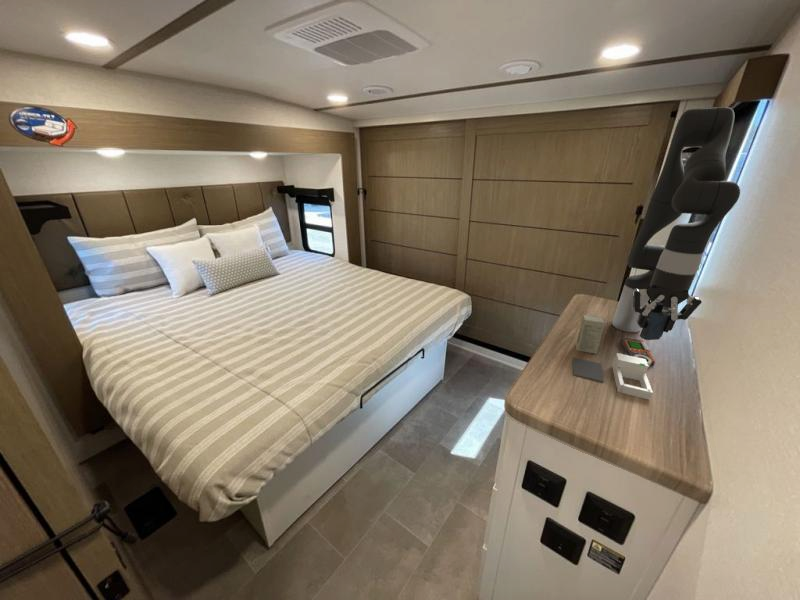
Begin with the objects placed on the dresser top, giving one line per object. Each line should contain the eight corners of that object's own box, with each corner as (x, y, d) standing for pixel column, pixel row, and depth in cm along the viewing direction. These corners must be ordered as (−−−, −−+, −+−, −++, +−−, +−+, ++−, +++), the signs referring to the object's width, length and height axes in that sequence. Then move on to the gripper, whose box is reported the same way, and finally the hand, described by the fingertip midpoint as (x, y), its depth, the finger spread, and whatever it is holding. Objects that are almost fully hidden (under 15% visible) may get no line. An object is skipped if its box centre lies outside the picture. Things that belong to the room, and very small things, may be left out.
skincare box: (595, 348, 108) (604, 317, 102) (596, 354, 104) (606, 323, 99) (574, 344, 110) (583, 313, 105) (575, 350, 106) (583, 319, 101)
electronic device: (633, 360, 97) (621, 335, 110) (630, 367, 99) (619, 342, 111) (659, 364, 95) (643, 339, 108) (655, 372, 97) (640, 345, 109)
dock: (608, 350, 106) (613, 337, 104) (634, 355, 103) (639, 342, 101) (617, 391, 87) (623, 376, 85) (649, 399, 84) (656, 384, 82)
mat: (572, 358, 102) (573, 357, 102) (600, 364, 99) (600, 363, 99) (573, 375, 94) (573, 374, 94) (603, 382, 91) (603, 381, 91)
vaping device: (636, 335, 84) (651, 296, 79) (654, 334, 84) (670, 295, 79) (644, 340, 81) (660, 300, 76) (662, 339, 82) (679, 299, 77)
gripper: (709, 267, 74) (682, 328, 82) (638, 260, 80) (619, 317, 88) (721, 277, 68) (691, 341, 76) (643, 268, 74) (622, 329, 82)
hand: (652, 328), depth 82 cm, fingers closed on vaping device, 4 cm apart
